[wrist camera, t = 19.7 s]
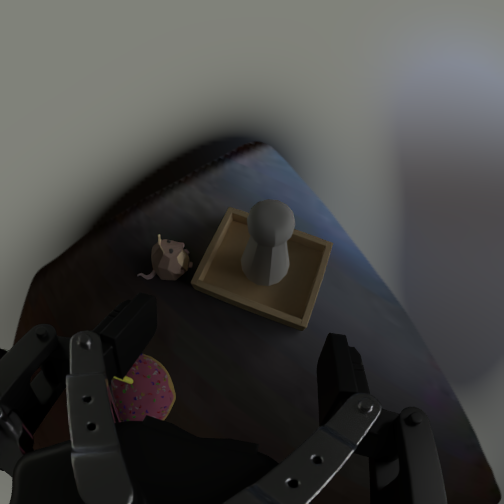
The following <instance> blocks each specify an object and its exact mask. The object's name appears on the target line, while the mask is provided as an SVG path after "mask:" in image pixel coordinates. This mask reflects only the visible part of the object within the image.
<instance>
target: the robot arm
mask: <svg viewBox="0 0 504 504" xmlns="http://www.w3.org/2000/svg"><path fill="white" fill-rule="evenodd" d="M156 328H157V305H156V297H155V296H152V295H148V294H145V293H139V294H138V295H137V296H136V297H135V298H134V299H133V300H132V301H131V300H127V301H124V302H122V303H120V304H119V305H118V306H117V307H116V308H115V309H114V310H113V311H112V312H111V313H110V314H109V315H108V316H106V317H105V318H104V319H103V320H102V321H101V322H100V323H99V324H98V325H97V326H96V327H95V328H94V329H93V330H92V331H81V332H78V333H76V334H74V335H73V336H72V338H67V337H61V336H57V334H56V330H55V328H54V327H53V326H51V325H49V324H40V325H37V326H35V327H33V328H32V329H31V330H30V331H29V332H28V333H26V334H25V335H24V336H23V337H22V338H21V339H20V340H19V341H18V342H17V343H16V344H15V345H14V346H13V347H12V348H11V349H10V350H6V349H0V470H2V471H5V472H6V473H8V474H9V475H10V476H11V477H12V495H11V500H10V504H312V503H311V502H310V501H311V500H312V499H313V498H314V497H315V496H316V495H317V494H318V493H319V492H320V491H321V490H322V489H323V488H324V487H325V486H326V484H327V483H328V482H329V481H330V480H331V479H332V478H333V477H334V475H335V474H336V473H337V472H338V471H339V470H340V468H341V467H342V466H343V465H344V464H345V462H346V461H347V460H348V459H349V458H350V456H351V455H352V454H353V453H356V454H359V455H363V456H367V457H369V471H370V504H447V499H446V493H445V487H444V481H443V476H442V471H441V466H440V462H439V457H438V453H437V449H436V445H435V441H434V437H433V433H432V429H431V426H430V422H429V419H428V417H427V415H426V414H425V413H424V412H423V411H422V410H420V409H418V408H415V407H408V408H405V409H403V410H402V412H401V413H400V414H398V413H394V412H391V411H387V410H384V409H382V408H381V404H380V402H379V401H378V400H377V399H376V398H375V397H374V396H372V395H370V391H369V387H368V383H367V379H366V375H365V371H364V367H363V365H362V359H361V355H360V354H359V353H358V351H357V350H356V349H355V348H354V347H349V346H348V342H347V338H346V335H341V334H334V333H329V334H328V336H327V338H326V341H325V344H324V346H323V349H322V352H321V354H320V357H319V360H318V364H317V383H318V402H319V426H320V427H319V428H318V429H317V430H316V431H315V432H314V433H313V434H312V435H310V436H309V437H308V438H307V439H306V440H305V441H304V442H303V443H302V444H301V445H300V446H299V447H298V448H297V449H295V450H294V451H293V452H292V453H291V454H290V455H289V456H288V457H286V458H285V459H284V460H283V461H282V462H281V463H277V462H276V461H275V460H273V459H272V458H270V457H269V456H267V455H265V454H263V453H260V452H258V446H259V444H255V443H249V442H244V441H238V440H233V439H215V438H199V437H196V436H194V435H192V434H190V433H188V432H186V431H185V430H183V429H181V428H179V427H177V426H176V425H174V424H172V423H169V422H166V421H163V420H160V419H157V418H154V417H151V416H148V415H146V416H145V418H144V420H143V421H124V422H121V421H120V418H119V415H118V411H117V406H116V402H115V397H114V393H113V388H112V383H111V380H112V379H113V377H114V376H115V377H117V378H120V379H122V380H123V379H124V377H125V376H126V374H127V373H128V371H129V370H130V369H131V367H132V366H133V364H134V363H135V361H136V360H137V358H138V357H139V356H140V354H141V353H142V351H143V350H144V349H145V347H146V346H147V344H148V343H149V341H150V340H151V339H152V337H153V336H154V334H155V332H156ZM39 367H41V369H42V370H41V371H40V372H39V373H38V375H37V376H36V377H35V378H34V379H33V381H32V382H31V383H30V379H31V376H32V375H33V374H34V372H35V371H36V370H37V369H38V368H39ZM65 388H66V393H67V408H68V419H69V428H70V436H71V440H68V441H65V442H62V443H59V444H55V445H52V446H49V447H45V448H42V449H38V450H35V451H34V449H33V444H34V439H33V434H34V433H35V431H36V430H37V428H38V427H39V425H40V424H41V422H42V421H43V419H44V418H45V416H46V415H47V413H48V412H49V410H50V409H51V408H52V406H53V405H54V403H55V402H56V400H57V399H58V398H59V396H60V395H61V393H62V392H63V391H64V389H65Z"/></svg>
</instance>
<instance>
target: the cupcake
mask: <svg viewBox="0 0 504 504" xmlns="http://www.w3.org/2000/svg"><path fill="white" fill-rule="evenodd" d="M111 383H112V388H113V393H114V397H115V402H116V406H117V411H118V415H119V418H120V419H121V420H123V422H124V421H143V420H144V418H145V416H146V415H148V416H151V417H154V418H157V419H160V420H163V421H164V420H165V419H166V417H167V416H168V414H169V412H170V410H171V408H172V406H173V404H174V401H175V399H176V394H175V391H174V387H173V383H172V381H171V378H170V376H169V374H168V372H167V370H166V369H165V367H164V366H163V365H162V364H161V363H160V362H158V361H157V360H155V359H154V358H152V357H150V356H148V355H144V354H142V353H141V354H140V356H139V357H138V358H137V360H136V361H135V363H134V364H133V366H132V367H131V369H130V370H129V371H128V373H127V374H126V376H125V377H124V379H123V380H122V379H120V378H117V377H115V376H114V377H113V379H112V380H111Z"/></svg>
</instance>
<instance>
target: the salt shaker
mask: <svg viewBox="0 0 504 504" xmlns="http://www.w3.org/2000/svg"><path fill="white" fill-rule="evenodd" d="M247 225H248V232H249V234H250V235H251V236H250V238H249V241H248V243H247V245H246V248H245V250H244V253H243V255H242V258H241V265H242V270H243V272H244V274H245V275H246V277H247V278H248V280H250V281H252V282H253V283H255V284H257V285H262V286H270V285H273V284H276V283H279V282H280V281H281V280H282V278H283V277H284V276H285V275H286V274H287V271H288V268H289V265H290V263H289V256H288V248H287V240H288V239H290V238H291V236H292V234H293V230H294V227H295V219H294V215H293V212H292V210H291V209H290V208H289V207H288V206H287V205H286V204H284V203H282V202H280V201H278V200H269V199H268V200H264V201H260V202H258V203H257V204H256V205H254V206H253V207H252V208H251V210H250V213H249V215H248V218H247Z"/></svg>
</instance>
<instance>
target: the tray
mask: <svg viewBox="0 0 504 504" xmlns="http://www.w3.org/2000/svg"><path fill="white" fill-rule="evenodd" d="M248 215H249V213H247V212H244V211H241V210H238V209H234V208H231V207H229V208H228V210H227V212H226V214H225V215H224V217H223V219H222V221H221V223H220V225H219V227H218V229H217V231H216V233H215V235H214V237H213V239H212V241H211V242H210V244H209V246H208V248H207V250H206V252H205V254H204V256H203V258H202V260H201V262H200V264H199V266H198V268H197V270H196V272H195V274H194V276H193V278H192V280H191V284H192V286H193V287H194V289H195V290H198V291H200V292H202V293H205V294H207V295H210V296H212V297H214V298H217V299H219V300H222V301H224V302H227V303H229V304H232V305H234V306H237V307H239V308H242V309H244V310H247V311H249V312H252V313H255V314H257V315H260V316H262V317H265V318H268V319H270V320H273V321H276V322H279V323H281V324H284V325H287V326H289V327H292V328H295V329H298V330H301V331H303V330H304V329H305V328H306V327H307V324H308V322H309V319H310V316H311V313H312V310H313V307H314V304H315V301H316V298H317V295H318V291H319V288H320V285H321V282H322V279H323V276H324V272H325V269H326V266H327V262H328V259H329V256H330V252H331V249H332V245H333V243H331V242H329V241H326V240H323V239H320V238H318V237H315V236H312V235H309V234H307V233H304V232H301V231H298V230H296V229H294V230H293V234H292V236H291V238H290V239H288V240H287V248H288V256H289V263H290V265H289V268H288V271H287V274H286V275H285V276H284V277H283V278H282V280H281V281H280V282H279V283H276V284H273V285H270V286H262V285H257V284H255V283H253V282H252V281H250V280H248V278H247V277H246V275H245V274H244V272H243V270H242V265H241V258H242V255H243V253H244V250H245V248H246V245H247V243H248V241H249V238H250V236H251V235H250V234H249V232H248V225H247V218H248Z"/></svg>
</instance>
